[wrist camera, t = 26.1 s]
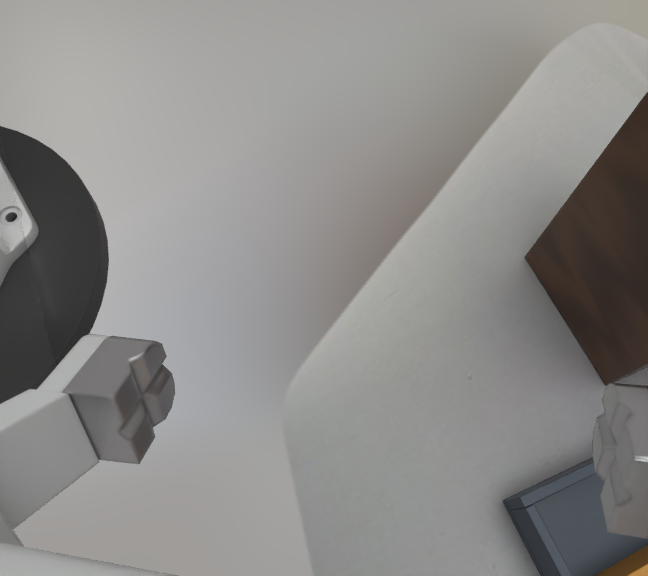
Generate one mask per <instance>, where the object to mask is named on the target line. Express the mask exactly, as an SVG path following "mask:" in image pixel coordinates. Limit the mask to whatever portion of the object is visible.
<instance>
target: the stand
mask: <svg viewBox="0 0 648 576" xmlns="http://www.w3.org/2000/svg"><path fill="white" fill-rule="evenodd" d="M525 258H526V259H527V261H528V262H529V264H530V266H531V267H532V269H533V270H534V272H535V274H536V275H537V277H538V278H539V280H540V281H541V283H542V285H543V286H544V288H545V289H546V291H547V293H548V294H549V296H550V297H551V299H552V301H553V302H554V304H555V305H556V307H557V308H558V310H559V312H560V313H561V315H562V316H563V318H564V320H565V321H566V323H567V324H568V326H569V327H570V329H571V331H572V332H573V334H574V335H575V337H576V339H577V340H578V342H579V343H580V345H581V346H582V348H583V350H584V351H585V353H586V354H587V356H588V358H589V359H590V361H591V362H592V364H593V366H594V367H595V369H596V370H597V372H598V373H599V375H600V377H601V378H602V380H603V381H604V383H605V385H608V384H609V383H614V382H616V381H618V380H620V379H622V378H625V377H627V376H629V375H631V374H633V373H636V372H638V371H640V370H642V369H645V368H647V367H648V92H647V93H646V95H645V96H644V97H643V99H642V100H641V101H640V103H639V104H638V105H637V107H636V108H635V109H634V111H633V112H632V113H631V115H630V116H629V117H628V119H627V120H626V122H625V123H624V124H623V126H622V127H621V128H620V130H619V131H618V132H617V134H616V135H615V136H614V138H613V139H612V140H611V142H610V143H609V144H608V146H607V147H606V148H605V150H604V151H603V152H602V154H601V155H600V156H599V158H598V159H597V161H596V162H595V163H594V165H593V166H592V167H591V169H590V170H589V171H588V173H587V174H586V175H585V177H584V178H583V179H582V181H581V182H580V183H579V185H578V186H577V187H576V189H575V190H574V191H573V193H572V194H571V195H570V197H569V198H568V200H567V201H566V202H565V204H564V205H563V206H562V208H561V209H560V210H559V212H558V213H557V214H556V216H555V217H554V218H553V220H552V221H551V222H550V224H549V225H548V226H547V228H546V229H545V230H544V232H543V233H542V234H541V236H540V237H539V239H538V240H537V241H536V243H535V244H534V245H533V247H532V248H531V249H530V251H529V252H528V253H527V255H526V256H525Z"/></svg>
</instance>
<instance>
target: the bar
mask: <svg viewBox="0 0 648 576" xmlns="http://www.w3.org/2000/svg"><path fill="white" fill-rule="evenodd" d="M595 576H648V545H647V546H645V547H644V548H642V549H640V550H638V551H637V552H635V553H633V554H632V555H630V556H628V557H626V558H625V559H623V560H621V561H619V562H618V563H616V564H614V565H612V566H611V567H609V568H607V569H606V570H604V571H602V572H600V573H599V574H597V575H595Z"/></svg>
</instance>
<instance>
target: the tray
mask: <svg viewBox="0 0 648 576" xmlns="http://www.w3.org/2000/svg"><path fill="white" fill-rule="evenodd" d="M603 486H604V481H603V480H602V479H601V478H600V477H599V476H598V475H597V474H596V473H595V468H594V462H593V458H591V459H589V460H587V461H585V462H582V463H580V464H578V465H576V466H574V467H572V468H570V469H568V470H566V471H564V472H561V473H559V474H557V475H555V476H553V477H551V478H549V479H547V480H545V481H543V482H540V483H538V484H536V485H534V486H532V487H530V488H528V489H526V490H524V491H522V492H519V493H517V494H515V495H513V496H511V497H509V498H507V499H505V500H503V503H504V504H505V506H506V508H507V510H508V512H509V514H510V516H511V518H512V520H513V522H514V524H515V526H516V528H517V530H518V532H519V534H520V536H521V538H522V540H523V541H524V543H525V545H526V547H527V549H528V551H529V553H530V555H531V557H532V559H533V561H534V563H535V565H536V567H537V569H538V571H539V573H540V575H541V576H595V575H597V574H599V573H600V572H602V571H604V570H606V569H607V568H609V567H611V566H612V565H614V564H616V563H618V562H619V561H621V560H623V559H625V558H626V557H628V556H630V555H632V554H633V553H635V552H637V551H638V550H640V549H642V548H644V547H645V546H647V545H648V539H645V538H639V537H633V536H627V535H621V534H615V533H609V532H608V531H607V526H606V522H605V517H604V512H603V507H602V503H601V498H600V495H601V492H602V489H603Z"/></svg>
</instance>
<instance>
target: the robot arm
mask: <svg viewBox="0 0 648 576" xmlns="http://www.w3.org/2000/svg"><path fill="white" fill-rule="evenodd" d="M15 217H17V219H16V220H15V221H13V222H10V221H11V220H12V219H13V218H15ZM38 232H39V229H38V225H37V223H36V221H35V220H34V218H33V216H32V214H31V212H30V210H29V208H28V207H27V205H26V203H25V201H24V199H23V197H22V195H21V194H20V192H19V190H18V188H17V186H16V184H15V183H14V181H13V179H12V177H11V175H10V173H9V171H8V170H7V168H6V166H5V164H4V162H3V160H2V158H1V157H0V287H1V285H2V283H3V281H4V279H5V276H6V274H7V272H8V271H9V269H10V267H11V266H12V264H13V263H14V262H15V261H16V260H17V259H18V258H19V257H20V256H21V255H22V254H23V253H24V252H25V251H26V250H27V249H28V248H29V247H30V246H31V245H32V244H33V242H34V241H35V239H36V238H37V236H38ZM165 358H166V354H165V351H164V348H163V346H162V344H161V343H159V342H156V341H151V340H142V339H134V338H125V337H116V336H103V335H95V334H88V335H86V336H84V337H82V338H81V339H80V340H79V341H78V343H77V344H76V345H75V346H74V347H73V348H72V349H71V351H70V352H69V353H68V354H67V355H66V356H65V358H64V359H63V360H62V361H61V362H60V363H59V364H58V366H57V367H56V368H55V369H54V370H53V371H52V373H51V374H50V375H49V376H48V377H47V378H46V379H45V381H44V382H43V383H42V384H41V385H40V386H39V387H38V389H37V390H35V389H29V390H27V391H25V392H23V393H21V394H19V395H17V396H15V397H13V398H11V399H9V400H7V401H5V402H3V403H1V404H0V576H176V575H171V574H166V573H160V572H155V571H150V570H144V569H139V568H134V567H129V566H123V565H118V564H113V563H107V562H102V561H97V560H91V559H86V558H81V557H75V556H70V555H65V554H60V553H54V552H49V551H44V550H38V549H33V548H27V547H24V545H23V544H22V542H21V541H20V539H19V538H18V536H17V535H16V534H15V532H14V531H13V529H14V528H15V527H17V526H18V525H19V524H20V523H22V522H23V521H25V520H26V519H27V518H28V517H29V516H31V515H32V514H33V513H35V512H36V511H37V510H39V509H40V508H41V507H42V506H44V505H45V504H46V503H48V502H49V501H50V500H51V499H53V498H54V497H55V496H57V495H58V494H59V493H60V492H62V491H63V490H64V489H66V488H67V487H68V486H69V485H71V484H72V483H73V482H75V481H76V480H77V479H78V478H80V477H81V476H82V475H84V474H85V473H86V472H87V471H89V470H90V469H91V468H93V467H94V466H95V465H96V464H98V463H99V460H106V461H115V462H123V463H133V464H140V462H141V460H142V459H143V457H144V455H145V453H146V452H147V450H148V448H149V447H150V445H151V443H152V442H153V440H154V438H155V434H154V430H153V427H154V426H156V425H157V424H159V423H160V422H162V421H163V420H165V419H166V417H167V415H168V413H169V412H170V410H171V408H172V404H173V400H174V395H175V385H174V379H173V376H172V373H171V372H170V371H169V370H168V369H167V368H166V367H165V366H164V365H163V364H162V363H163V362H164V360H165ZM602 401H603V405H604V409H605V413H604V414H602V415H600V416H599V417H597V419H596V423H595V427H594V431H593V442H592V453H593V462H594V468H595V473H596V474H597V475H598V476H599V477H600V478H601V479H602V480H603V481H604V486H603V489H602V492H601V495H600V498H601V503H602V507H603V512H604V517H605V522H606V526H607V531H608V532H609V533H615V534H621V535H627V536H633V537H639V538H645V539H648V386H641V385H629V384H617V383H609V384H608V386H607V387H606V389H605V392H604V395H603V399H602Z"/></svg>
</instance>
